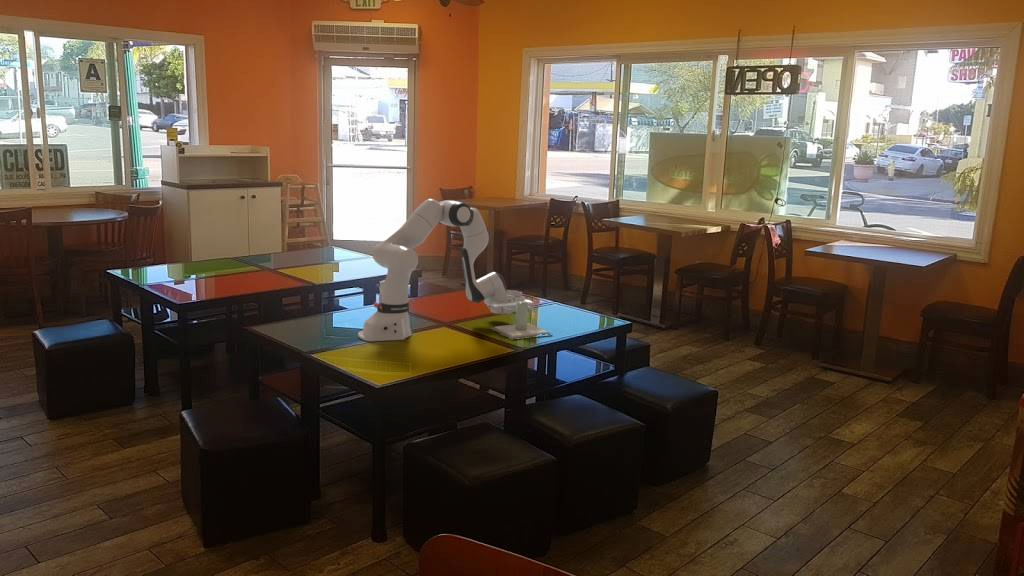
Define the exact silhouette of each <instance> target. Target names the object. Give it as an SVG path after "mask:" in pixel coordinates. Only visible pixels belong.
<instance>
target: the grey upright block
mask: <svg viewBox="0 0 1024 576" xmlns="http://www.w3.org/2000/svg"><path fill="white" fill-rule="evenodd" d="M527 308H528V302H525V301H517V302H516V312H515V323H514V325H515V329H516V330H520V331H523V330H527V323H528V312H527Z"/></svg>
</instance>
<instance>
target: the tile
mask: <svg viewBox="0 0 1024 576" xmlns="http://www.w3.org/2000/svg"><path fill="white" fill-rule="evenodd" d="M490 328H491V329H492V330H494V331H496V332H498V333H500V334H502V335H504V336H506V337H508V338H510V339H516V338H524V337H533V336H537V335H539V334H542V335H545V334H548V335H550V334H552V333H551V332H549V331H547V330H545V329H542V328H540V327H538V326H536V325H534V324H531V323H528V322H527V330H523V331H520V330H516V329H515V324H507V325H497V326H493V327H490ZM492 330H491V331H492ZM494 331H493V332H494ZM496 332H495V333H496ZM498 333H497V334H498ZM500 334H499V335H500ZM502 335H501V336H502ZM504 336H503V337H504ZM506 337H505V338H506ZM508 338H507V339H508ZM510 339H509V340H510Z"/></svg>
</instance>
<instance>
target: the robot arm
mask: <svg viewBox="0 0 1024 576" xmlns="http://www.w3.org/2000/svg"><path fill="white" fill-rule="evenodd" d="M438 224H440V225H445V226H448V227H459V228H460V231H461V235H462V237H463V247H462V249H461V250H460V257H461V258H460V260H461V266H462V271H463V273H462V274H463V279H464V287H465V288H464V290H465V295H466V298H467V299H468V301H469V302H471V303H473V304H479V303H481V302H483V303H484V304H485V305H486V308H487V309H488V310H489V311H490V312H491V313H492V314H494V315H495V314H496V315H499V314H502V315H510V314H513V313H516V302H517V301H525V302H528V308H527V313H529V312H533V311H534V310H535V303H534V301H532V300H530V299H527V298H525V297H524V296H523V295H522V296H512V295H507V294H506V291H507V290H508V287H507V283H506V279H505V278H504V277H503V275H501V274H500V273H499V272H497V271H492V272H489V273H487V274H485V275H484V276H482V277H480V278H477V279H476V275H475V269H474V263H475V260H476V259H477V258H478V256H479V255H480V254H481V253H482V252H483V251H485V249H486V248H487V246H488V244H489V242H490V236H489V232H488V229H487V226H486V224H485V220H484V219H483V216H482V214H481V212H480V211H479V209H477V208H475V207H470V206H469V205H468V204H467V203H466V202H463V201H458V200H457V201H456V200H453V199H452V200H451V199H447V200H446V199H442V200H441V199H440V200H436V199H434V198H428V199H426V200H424V201H423V202H421V203H420V205H419V206H418V207H417V208H416V209H415V210H414V211H413V212H412V213H411V214H410V215H409V217H408V218H407V220H406V221H405V222H404V223H403V224H402V226H401V227H400V228H398V230H397V231H395V232H394V233H393V234H392V235H390V236H389V237H387V238H386V239H385V240H383V241H381V242H379V243H377V244H376V245H375V246H374V248H373V249H372V259H373V260H374V262H375V263H377V264H378V265H379V266H381V268H382V267H383V268H385V269H387V273H386V277H385V279H384V280H385V281H384V280H383V281H384V282H383V283H382V302H381V303H379V302H374V303H373V307H374V308H376V312H374V313H373V314H372V315H371V316H369V317H367V319H366V320H365V321H364V324H363V328H362V330H361V331H358V333H357V337H358V338H359V339H361V340H363V341H366V342H381V341H383V342H384V341H401V340H406V338H408V337H409V338H410V337H411V336H412V335H413V333H412V330H411V326H410V320H409V319H410V318H409V315H410V302H409V284H410V283H409V282H410V279H411V276H412V273H413V271H414V270H415V269H416V267H417V266H418V263H419V257H418V256H419V255H418V254H417V252H416V251H415V250H414V249H415V248H417V247H418V246H421V245H422V244H423V243H424V242H425V241H426V240H427V238H428V237H429V235H430V234H431V232H433V230H434V229H435V227H437V225H438Z"/></svg>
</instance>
